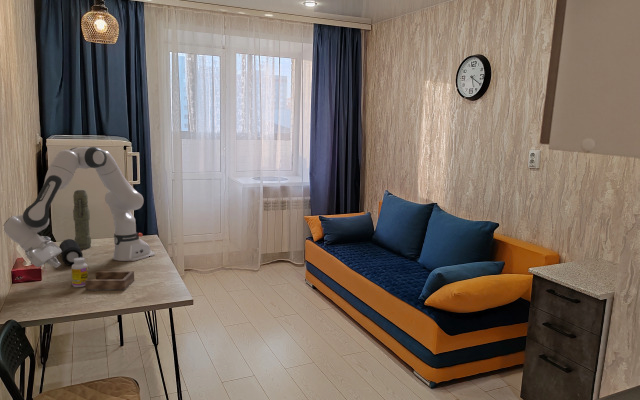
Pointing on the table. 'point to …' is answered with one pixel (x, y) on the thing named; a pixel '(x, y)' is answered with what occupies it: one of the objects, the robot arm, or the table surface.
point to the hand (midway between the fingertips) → (58, 266)
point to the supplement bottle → (79, 272)
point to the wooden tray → (110, 280)
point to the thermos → (81, 219)
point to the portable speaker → (70, 251)
